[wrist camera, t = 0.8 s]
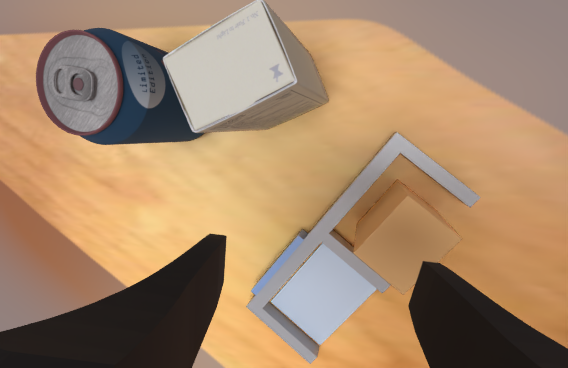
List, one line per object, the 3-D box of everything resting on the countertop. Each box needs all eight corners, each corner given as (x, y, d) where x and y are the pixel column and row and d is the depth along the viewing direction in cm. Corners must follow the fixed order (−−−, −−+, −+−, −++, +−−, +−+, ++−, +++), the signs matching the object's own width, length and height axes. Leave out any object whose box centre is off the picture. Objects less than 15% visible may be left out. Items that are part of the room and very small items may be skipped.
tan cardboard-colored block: (437, 211, 26) (462, 238, 19) (394, 254, 27) (403, 295, 20) (397, 179, 26) (408, 195, 19) (356, 224, 27) (353, 253, 21)
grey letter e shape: (474, 193, 25) (482, 198, 23) (312, 352, 30) (309, 366, 28) (389, 127, 26) (390, 127, 24) (247, 294, 31) (240, 303, 29)
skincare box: (310, 52, 26) (266, -12, 14) (331, 104, 26) (302, 81, 15) (244, 86, 28) (157, 53, 16) (264, 134, 28) (191, 135, 17)
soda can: (228, 68, 28) (133, 24, 17) (218, 147, 29) (123, 156, 18) (159, 58, 30) (27, 11, 18) (152, 133, 31) (26, 134, 19)
